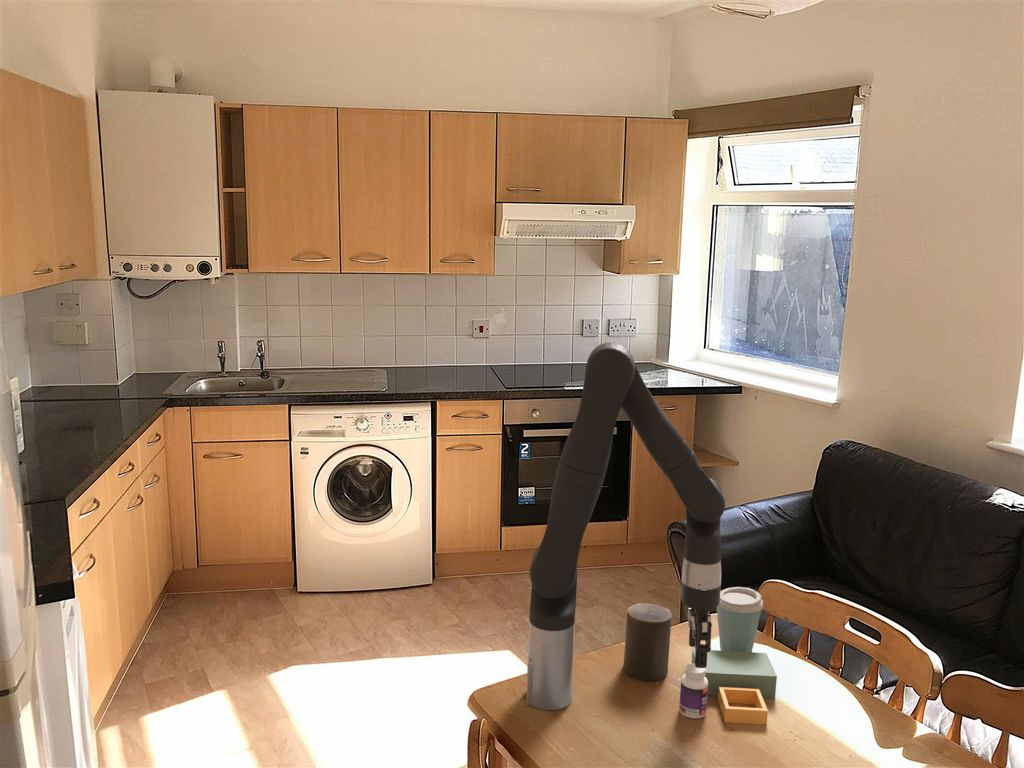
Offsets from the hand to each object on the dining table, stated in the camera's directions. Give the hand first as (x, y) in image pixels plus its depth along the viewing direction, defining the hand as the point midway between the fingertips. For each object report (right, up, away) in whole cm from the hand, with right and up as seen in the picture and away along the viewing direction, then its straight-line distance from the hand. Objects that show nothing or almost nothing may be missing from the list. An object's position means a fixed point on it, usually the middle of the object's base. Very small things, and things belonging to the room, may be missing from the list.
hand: (697, 656), depth 176 cm
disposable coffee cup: (+14, -8, +26) cm, 31 cm away
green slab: (+10, -11, +8) cm, 17 cm away
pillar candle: (-7, -9, +19) cm, 22 cm away
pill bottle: (0, -12, +2) cm, 12 cm away
